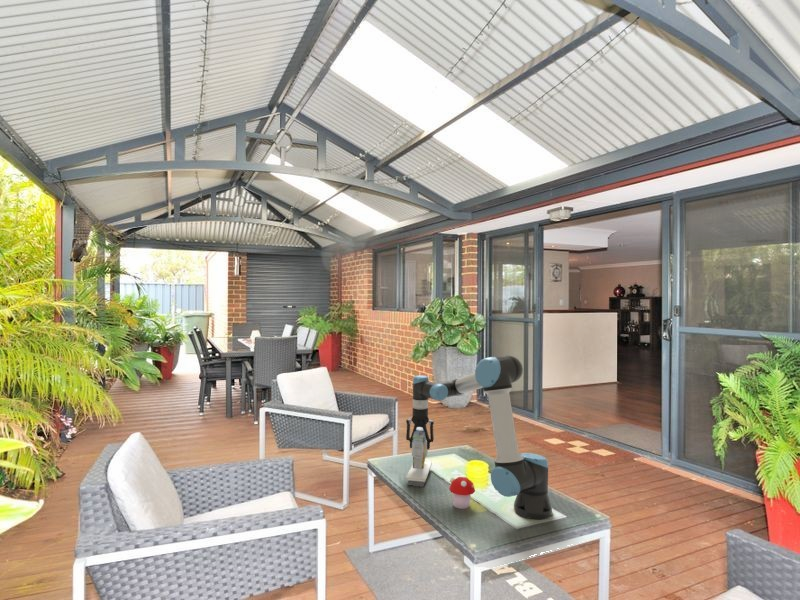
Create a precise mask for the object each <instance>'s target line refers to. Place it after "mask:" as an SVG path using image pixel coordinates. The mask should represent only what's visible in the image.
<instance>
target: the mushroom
mask: <svg viewBox="0 0 800 600" xmlns="http://www.w3.org/2000/svg"><path fill="white" fill-rule="evenodd" d="M449 483H450V486H449V491H450V492H451V493H452V496H451V497H452V503H453V507H454V508H457V509H460V510H466V509H468V508H469V507H470V505H471V504H470V503H471V495H473V494H474V493H475V492H476V489H475V485H474V483H473V481H472V480H470V479H469V478H468V477H465V476H457V477H456V478H454V477H450V479H449Z"/></svg>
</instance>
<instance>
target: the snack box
mask: <svg viewBox="0 0 800 600" xmlns="http://www.w3.org/2000/svg"><path fill="white" fill-rule="evenodd" d="M426 442H427V441H426V437H425V432H424V430H423V427H417V429H416V431H415V432H414V435H413V456H412V464H413V468H421V469H423V468H424V462H425V461H426V457H425V443H426Z"/></svg>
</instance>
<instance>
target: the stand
mask: <svg viewBox="0 0 800 600" xmlns="http://www.w3.org/2000/svg"><path fill="white" fill-rule="evenodd" d="M432 465H433V462H432V461H426V460H425V462H424V468H423V469H421V468H413V463H412V464H411V467H410V468H409V470H408V473H407V475H406V477H405V481H408V483H407V485H413V486H412V487H419V486H420V487H421V488H424V486H425V484H426V482H427V478H428V475H429V472H430V470H431V468H432Z"/></svg>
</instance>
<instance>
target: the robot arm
mask: <svg viewBox="0 0 800 600" xmlns="http://www.w3.org/2000/svg"><path fill="white" fill-rule="evenodd" d="M523 371H524V369H523V365H522V363H521V361H520V360H519V359H518V358H517V357H515V356H512V355H500V356H498V355H497V356H490V357H489V356H488V357H485V358H482V359H481V360H479V362H477V365H476V367H475V369H474V372H473V373H470V374H467V375H465V376H462V377H458V378H455V379H452V380H447V381H439V382H432V381H430V380H429V376H428V375H424V374H423V375H422V374H421V375H419V374H418V375H414V376H413V377H412V378H413V379H412V407H413V408H412V417H411V418H407V419H406V420H405V422H406V436H405V439H406V441H408V442H409V448H410V449H411V456H412V457H413V435H414V432H415V431H416V429H417V427H423V430H424V432H425V437H426V443H425V458H427V457H428V450H430V447H431V446H430V445H431V443H433V442H434V440H435V439H434V423H435V420H431V419H429V408H428V407H429V399H431V400H435V401H439V402H441V401H444V400H445V399H446V398H449V397H455V396H456V397H459V396H463V395H464V394H466V393H470V392H473V391H476V390H478V389H479V390H480V389H482V390H483V393H485V394H486V395H487V398H488V404H489V412H490V417H491V424H492V428H493V429H492V430H493V435H494V437H493V438H494V443H495V448H496V457H495V458H494V461H493V462H494V468H493V469H492V471H491V472H490V480H491V481H490V482H491V483H492V486H493V488H494V489H495V491H497V493H498V494H499V495H502V496H503V497H505V498H506V497H507V498H509V497H513V496H515V500H514V501H513V502H514V503H513V511H514V512H515V513H516V514H517V515H520V516H522V517H523V518H528V519H533V520H544V519H548V518H550V517H552V514H553V507H552V503H551V501H550V498H549V494H548V493H549V492H548V491H549V468H550V467H549V460H548V459H547V458H546V457H545V456H544V455H540V454H536V453H532V452H521V453H520V452H519V445H518V439H517V433H516V428H515V427H516V426H515V421H514V415H513V409H512V402H511V401H512V400H511V395H510V392H511V391H512V389H513V386H512V385H513V383H515V382H517V381H518V380H520V379H521V377H522V375H523V373H524V372H523ZM412 423H413V430H412V432H411V424H412ZM427 424H429V432H428V429H427ZM429 434H430V435H429Z"/></svg>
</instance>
